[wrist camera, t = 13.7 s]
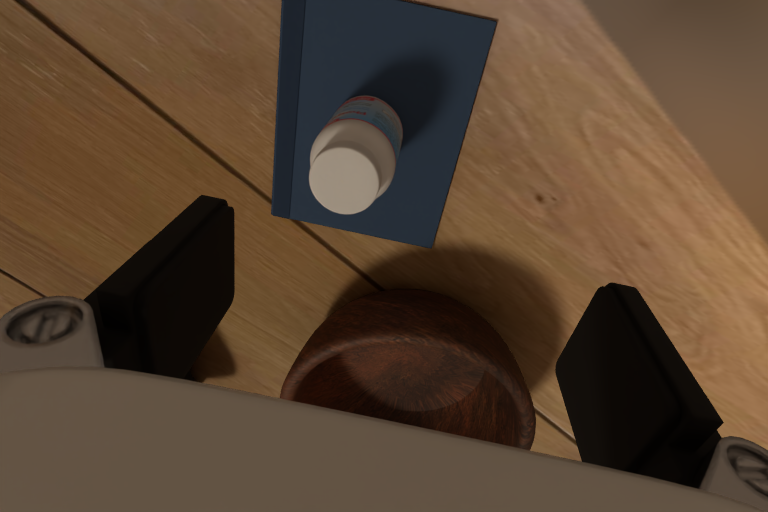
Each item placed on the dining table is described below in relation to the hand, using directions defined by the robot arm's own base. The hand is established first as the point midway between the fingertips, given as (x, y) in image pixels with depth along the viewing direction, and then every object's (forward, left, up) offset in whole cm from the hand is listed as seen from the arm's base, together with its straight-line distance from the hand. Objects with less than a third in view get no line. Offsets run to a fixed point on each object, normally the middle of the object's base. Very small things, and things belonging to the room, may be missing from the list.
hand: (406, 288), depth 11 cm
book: (+5, -4, -28) cm, 29 cm away
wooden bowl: (+30, +5, -28) cm, 42 cm away
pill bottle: (+5, -4, -28) cm, 29 cm away
